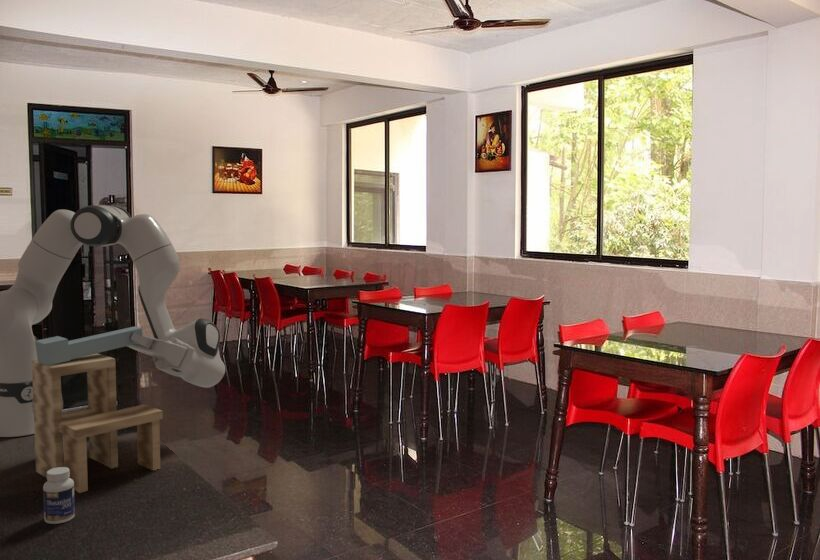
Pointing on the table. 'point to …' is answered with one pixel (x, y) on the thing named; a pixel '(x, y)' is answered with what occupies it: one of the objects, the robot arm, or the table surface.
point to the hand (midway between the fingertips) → (126, 334)
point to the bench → (108, 422)
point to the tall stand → (51, 415)
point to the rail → (82, 345)
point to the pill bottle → (58, 496)
